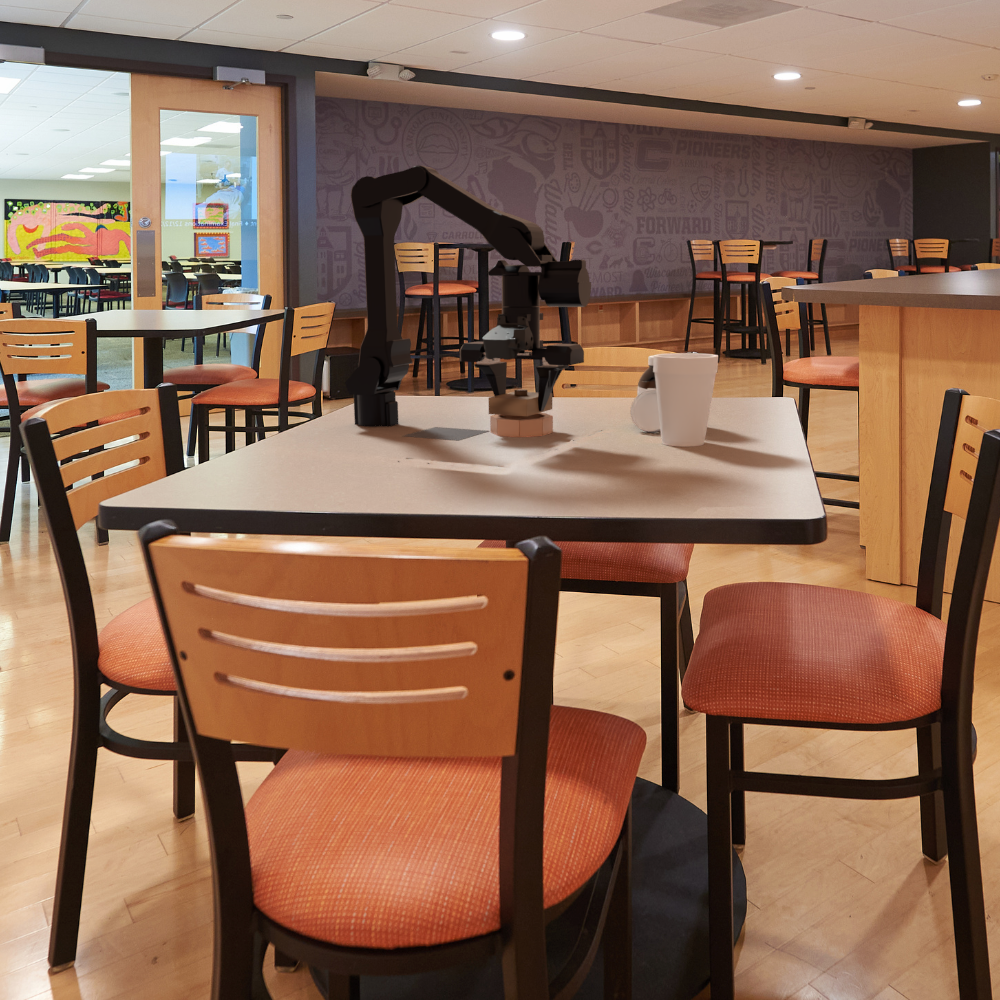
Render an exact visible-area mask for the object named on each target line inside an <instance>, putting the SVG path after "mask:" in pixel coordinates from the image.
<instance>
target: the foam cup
mask: <svg viewBox="0 0 1000 1000" xmlns="http://www.w3.org/2000/svg"><path fill="white" fill-rule="evenodd" d="M718 363H719V355H718V354H712V353H697V352H695V353H694V352H693V353H691V352H687V353H686V352H683V353H682V352H677V353H671V352H670V353H657V354H654V360H653V372H655V381H656V391H657V401H658V411H659V421H660V431H659V432H660V439H661V444H663V445H666V446H671V447H685V448H686V447H700V446H703V445H705V440H706V437H707V429H708V423H709V418H710V417H709V416H710V411H711V407H712V406H711V405H712V401H713V393H714V387H715V382H716V381H715V380H716V377H717V376H716V375H717V373H718V368H719V365H718Z"/></svg>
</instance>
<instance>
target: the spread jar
mask: <svg viewBox="0 0 1000 1000" xmlns="http://www.w3.org/2000/svg"><path fill="white" fill-rule="evenodd" d="M654 355H655V354H654ZM654 355H649V356H648V358H647V359H648V361H647V364H648V365H647V366H648V367H647V369H645V370H644V372H643V373H642V375H640V378H639V380H638V382H637V395H636V397H635V398H634V399H633V401H632V403H631V406H630V412H629V414H630V417H631V421H632V423H633V424H634V425H635V427H637V428H638V429H640V430H641V431H642V432H646V433H652V434H653V433H658V432H661V431H660V421H659V411H658V401H657V391H656V381H655V372H653V360H654Z"/></svg>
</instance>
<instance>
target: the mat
mask: <svg viewBox="0 0 1000 1000" xmlns="http://www.w3.org/2000/svg"><path fill="white" fill-rule="evenodd" d="M489 432H490V430H484V429H482V430H481V429H470V428H469V429H468V428H453V427H443V426H434V427H430V428H428V429H427V428H426V429H424V430H419V431H416V432H415V431H414V432H412V433H407V434H404V435H402V437H407V438H419V439H432V440H433V439H434V440H445V441H446V440H447V441H462V440H465V439H468V438H471V437H475V436H480V435H482V434H485V433H489Z"/></svg>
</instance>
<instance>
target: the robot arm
mask: <svg viewBox="0 0 1000 1000" xmlns="http://www.w3.org/2000/svg"><path fill="white" fill-rule="evenodd" d="M423 197H424V198H425V199H427V200H428V201H431V202H432V203H434V204H436V205H437V206H438V207H439V208H442V209H443V210H445V211H446V212H448V213H449V214H452V215H453V216H454V217H456V218H458V219H460V221H462V222H464V223H466V224H467V225H468V226H471V227H472V228H474V229H475V230H476V231H477V232H478V233H480V234H481V236H482V238H483V239H485V242H487V243H488V245H489V246H491V247H492V248H493V249H494V250H495V251H496V252H497V253H498V254H499V255H500V256H501V257H503V258H504V259H498V260H497V262H496V264H495V265H494V266H493V267H491V269H489V270H488V272H487V275H488V276H489V277H496V276H497V277H501V313H498V314H497V319H496V322H497V323H496V326H495V327H493V328H491V329H490V330H489V331H488V332H486V334H485V335H483V337H482V341H472V342H465V343H463V344H462V346H461V347H460V349H459V362H461V363H462V362H465V363H474V364H473V366H474V368H475V369H477V368H478V369H480V370H481V372H483V373H484V375H485V376H486V379H487V380H488V382H489V384H490V387H491V391H492V393H493V395H494V396H498V395H502V394H506V393H507V374H508V373H507V372H508V371H507V369H508V368H507V367H508V362H507V361H510V360H536V361H542V365H541V366H536V367H535V369H536V372H537V375H538V391H537V393H538V407H539V411H543V410H544V408H545V406H546V404H547V401H548V399H549V396H550V394H551V393H552V391H553V390H554V386H555V384H556V383H557V381H558V379H559V377H560V375H561V373H562V371H563V370H565V369H568V368H569V367H570V366H573V365H578V364H582V363H585V351H584V348H583V347H582V346H581V343H580V344H579V343H556V344H548V345H547V346H546V347H544V340H543V339H541V338H540V337H541V336H540V335H541V334H540V333H541V331H540V329H541V327H540V326H541V321H542V320H544V313H543V312H541V310H540V309H541V308H540V306H541V305H540V304H541V302H540V301H544V302H545V305H546V306H547V307H548V308H549V307H550V308H551V307H552V308H553V307H554V308H555V307H556V308H557V307H558V308H562V307H563V308H564V307H565V308H566V307H567V308H585V307H587V306H588V304H589V302H590V298H591V294H592V293H591V292H592V282H591V281H590V275H589V270H588V269H587V261H586V260H585V259H572V260H565V261H563V260H562V261H558V260H557V259H556V257H555V256H554V254H553V253H552V252H551V250H550V249H549V247H548V245H547V244H546V242H545V235H544V230H543V229H542V227H541V226H540V225H539V224H537V223H535V222H533V221H530V220H527V219H525V218H522V217H519V216H516V215H514V214H511V213H508V212H504V211H503V210H502V211H501V210H499V209H497V208H495V207H494V206H492V205H490V204H489V203H486V201H484V200H482V199H480V198H479V197H477V196H475V195H474V194H472V193H471V192H469V191H467V190H466V189H464V188H462V187H461V186H459V185H458V184H456V183H455V182H453V181H451V180H449V179H448V178H446V177H445V176H443V175H442V174H440V173H439V172H438V170H436V169H435V168H433V167H429V166H425V165H421V164H418V165H414V166H413V167H412V166H411V167H410V168H407V169H404V170H401V171H397V172H392V173H389V174H384V175H383V174H382V175H381V176H377V177H376V176H368V175H367V176H362V177H361V178H359V179H358V180H357V181H356V182H355V183H354V185H353V186H352V187H351V190H350V199H351V204H352V211H353V217H354V219H355V222H356V224H357V226H358V228H359V230H360V232H361V234H362V237H363V250H364V273H365V275H364V276H365V279H364V280H365V293H366V297H365V299H366V322H367V327H366V332H365V334H364V338H363V339H362V341H361V344H360V349H359V358H358V366H357V368H356V369H355V370H354V371H353V372H352V373H351V374H350V376H349V377H348V378H347V380H345V382H344V384H345V386H346V390H347V392H348V394H349V395H351V396H352V395H353V410H354V411H353V412H354V413H353V414H354V415H353V417H354V425H356V426H357V425H358V426H360V427H368V428H369V427H370V428H373V427H375V428H377V427H393V426H398V425H399V405H398V404H399V403H398V401H397V399H396V392H395V391H399V390H400V388H401V384H402V381H403V379H404V378H405V376H406V375H408V373H409V368H410V365H411V364H413V360H412V357H411V347H412V342H411V341H412V340H411V338H409V337H408V338H403V336H402V334H401V333H400V330H399V328H398V311H397V307H398V305H397V283H396V281H397V280H396V257H395V256H396V255H395V253H396V251H395V236H396V233H397V231H398V229H399V225H400V223H401V220H402V216H403V207H405V206H407V205H409V204H413V203H415V202H417V201H419V200H420V199H421V198H423ZM505 259H506V260H505ZM507 260H508V261H518V262H520V263H521V264H509V263H508V262H507ZM531 267H536V268H537V267H538V268H539V267H540V271H530V269H529V268H531ZM501 359H503V360H505V361H501ZM506 360H507V361H506Z"/></svg>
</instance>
